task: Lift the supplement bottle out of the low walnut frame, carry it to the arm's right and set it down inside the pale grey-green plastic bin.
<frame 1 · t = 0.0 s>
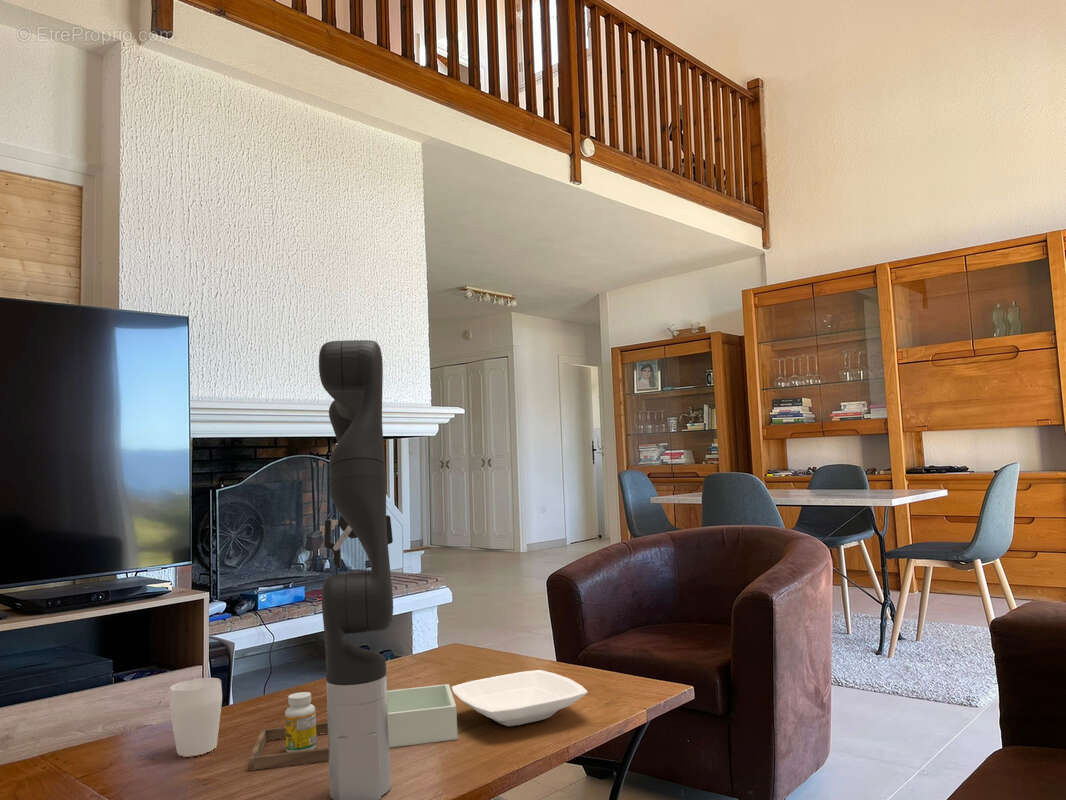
hand: (359, 566, 168), 29 cm above the table, fingers open, 8 cm apart
bowl: (519, 719, 152), on the table
cup: (197, 752, 144), on the table
plastic bin: (412, 730, 149), on the table
supplement bottle: (301, 750, 142), resting in walnut frame
walnut frame: (301, 749, 142), on the table
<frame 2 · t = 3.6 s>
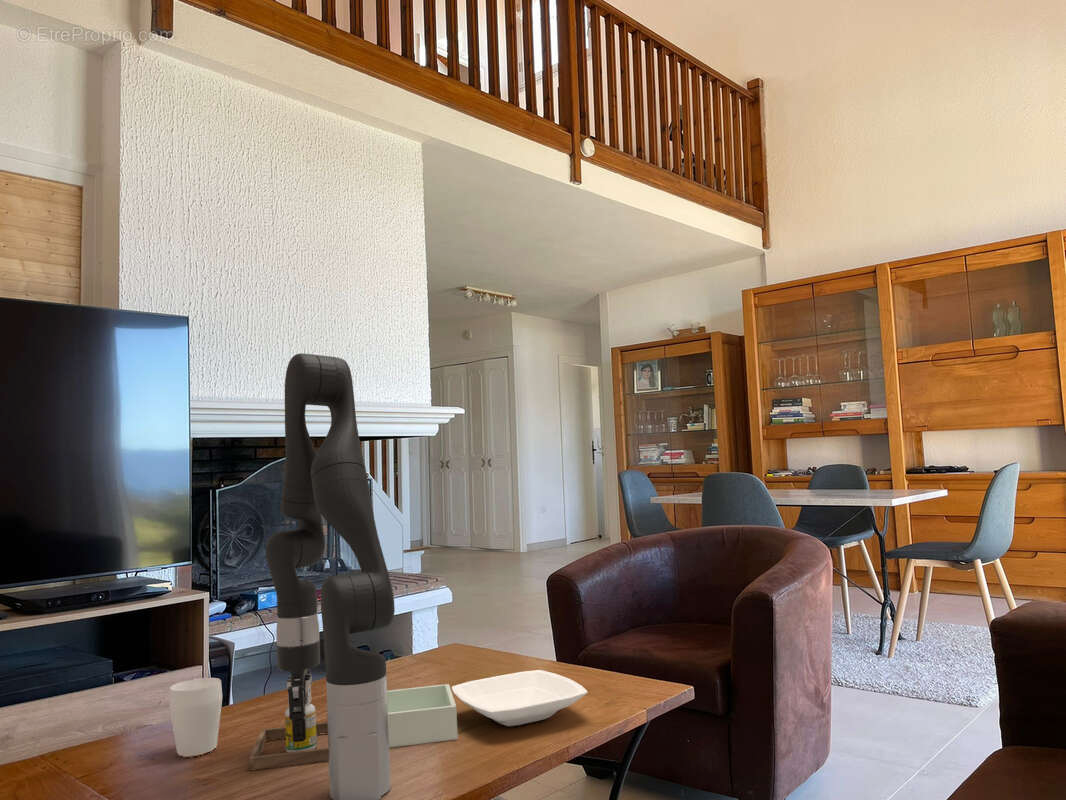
hand: (301, 735, 142), 2 cm above the table, fingers closed on supplement bottle, 5 cm apart
supplement bottle: (301, 750, 142), resting in walnut frame, touching gripper
everything else where it was.
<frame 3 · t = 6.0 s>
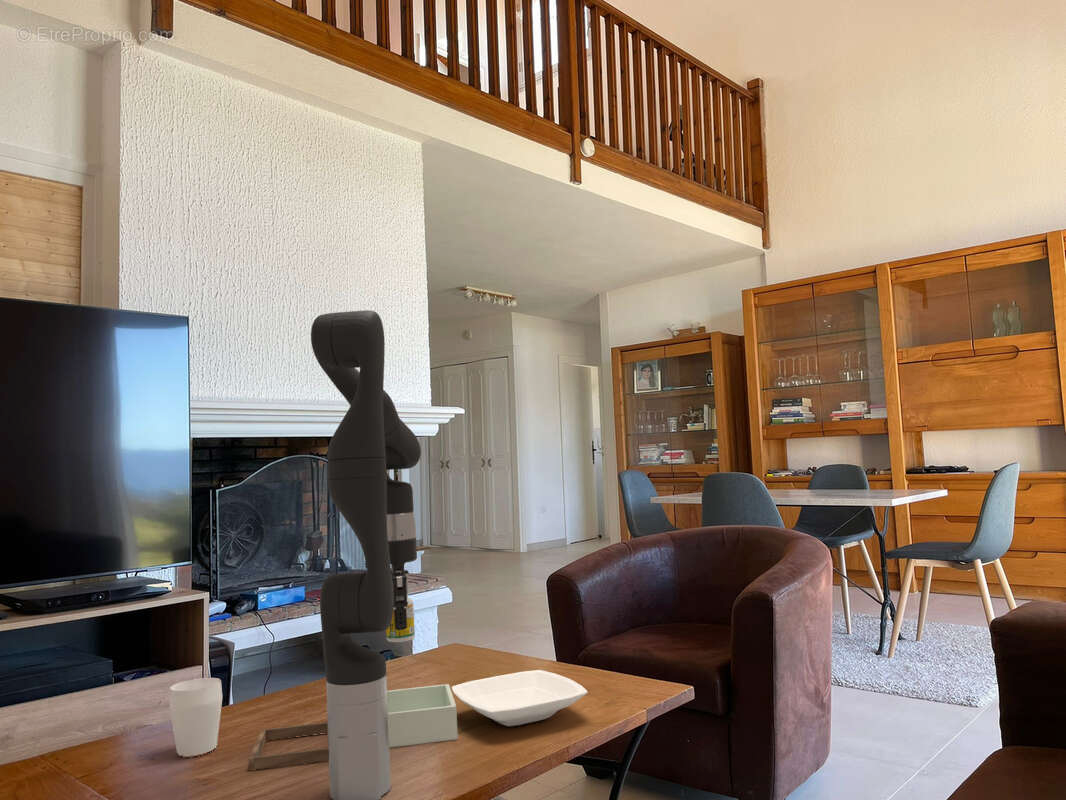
hand: (400, 625, 150), 20 cm above the table, fingers closed on supplement bottle, 5 cm apart
supplement bottle: (400, 640, 150), point 17 cm above the table, touching gripper
everything else where it was.
when the fingers open (5 cm above the table, at t = 8.9 s): supplement bottle drops 2 cm, resting on plastic bin.
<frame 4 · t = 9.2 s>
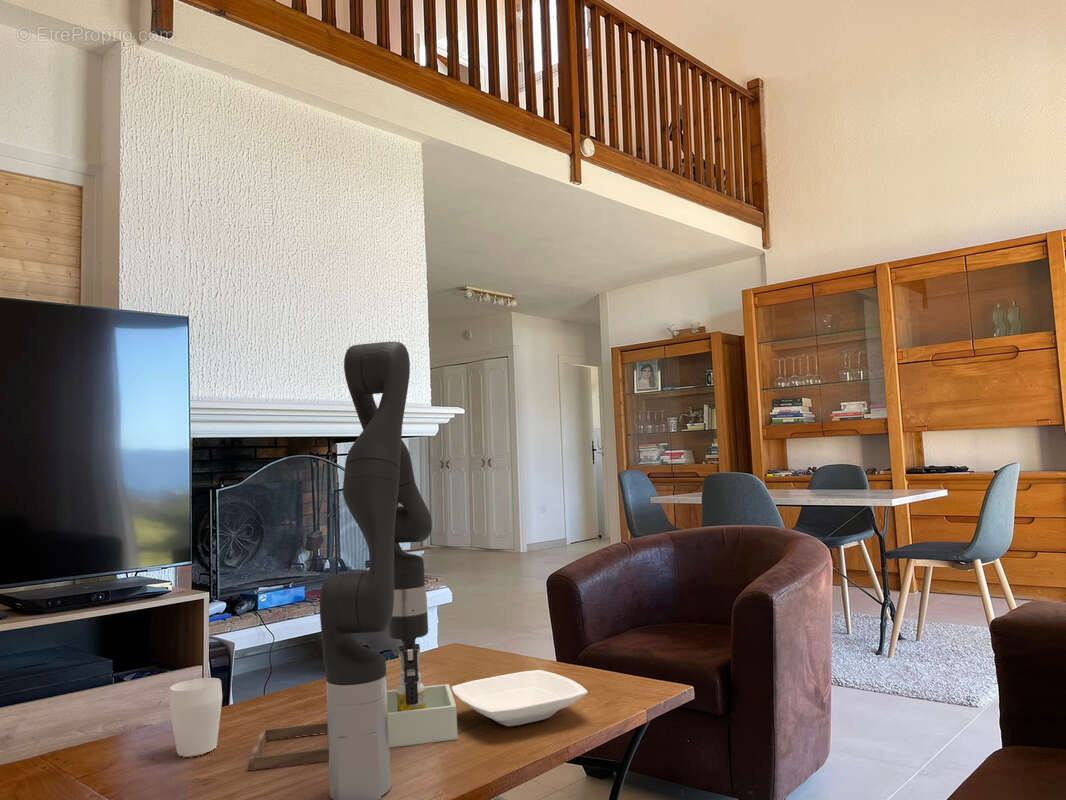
hand: (411, 697, 149), 6 cm above the table, fingers open, 8 cm apart
supplement bottle: (412, 726, 149), point 1 cm above the table, touching plastic bin
everything else where it was.
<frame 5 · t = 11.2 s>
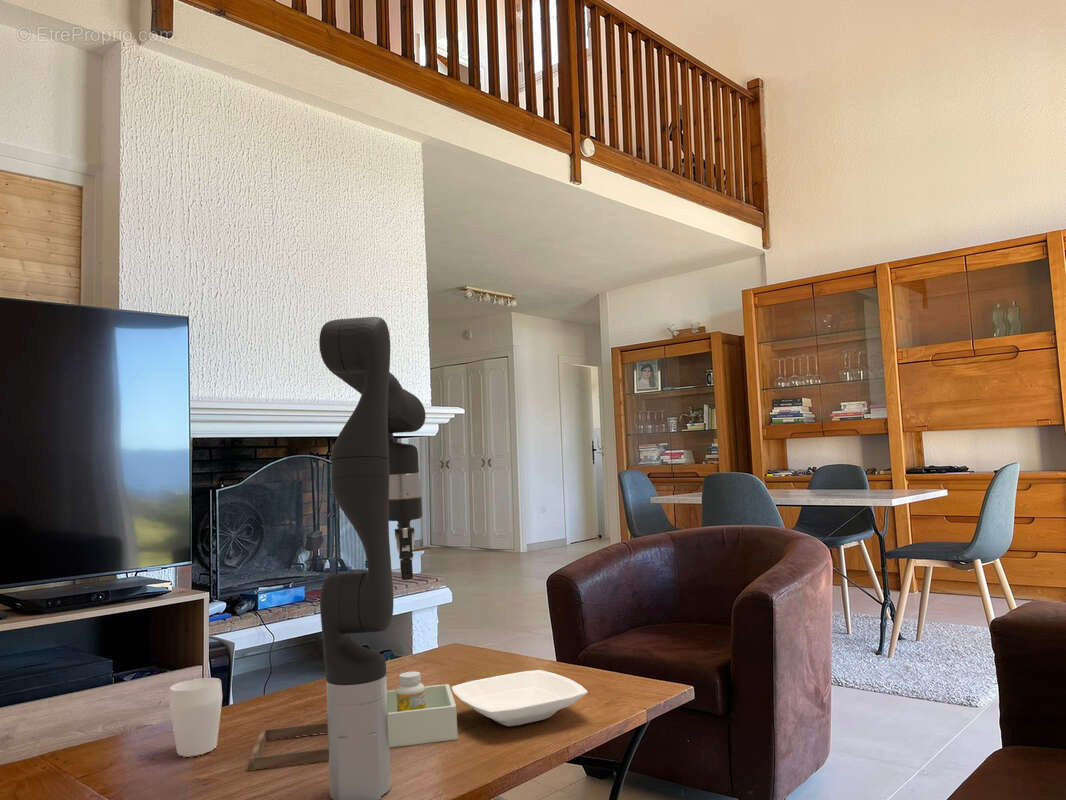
hand: (406, 576, 159), 28 cm above the table, fingers open, 8 cm apart
nothing on the table moved.
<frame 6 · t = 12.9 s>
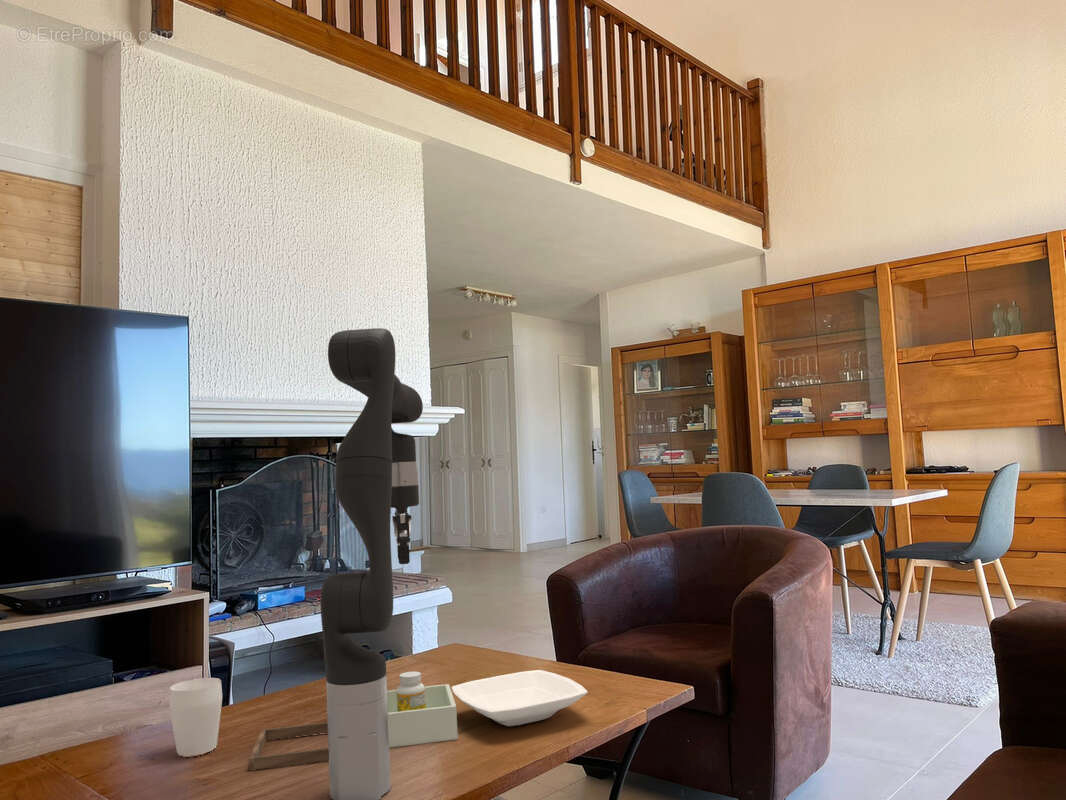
hand: (403, 561, 165), 30 cm above the table, fingers open, 8 cm apart
nothing on the table moved.
at the end: supplement bottle 0.2 cm from the plastic bin (horizontally); supplement bottle point 0.6 cm above the table; the gripper is holding nothing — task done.
